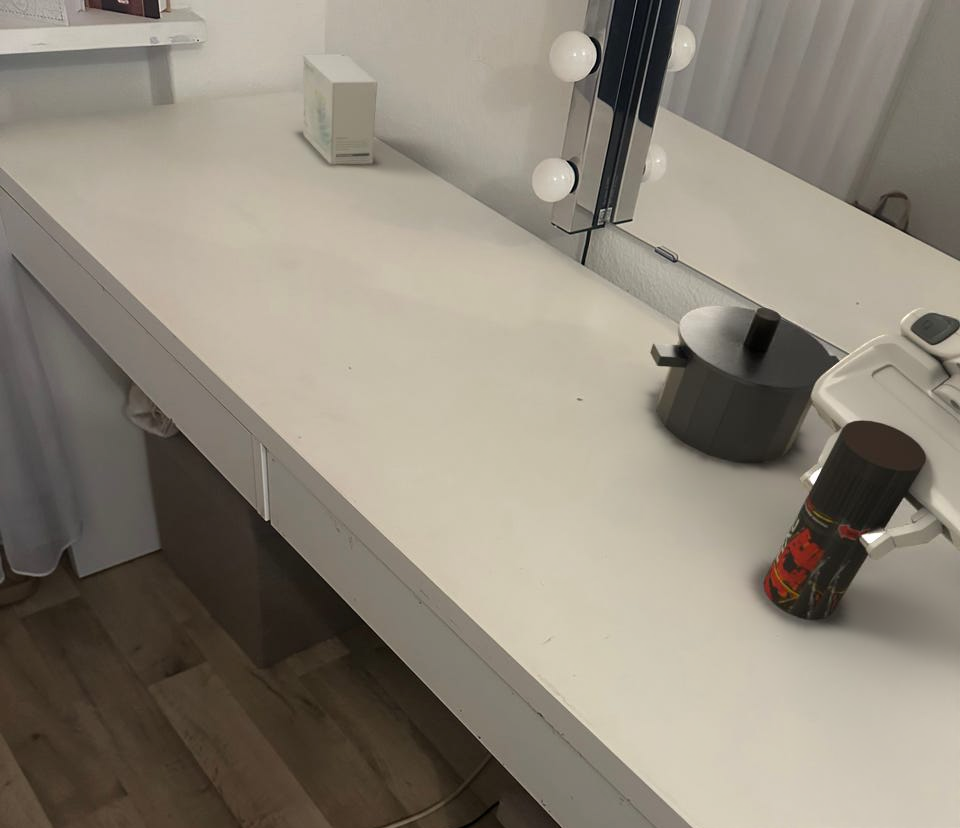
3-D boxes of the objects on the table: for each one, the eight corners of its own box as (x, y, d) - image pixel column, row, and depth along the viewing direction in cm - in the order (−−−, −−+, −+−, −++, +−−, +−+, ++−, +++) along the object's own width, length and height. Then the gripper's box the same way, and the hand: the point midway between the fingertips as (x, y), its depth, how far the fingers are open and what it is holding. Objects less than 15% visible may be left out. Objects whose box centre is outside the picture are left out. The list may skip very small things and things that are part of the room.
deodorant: (840, 628, 72) (938, 476, 61) (769, 620, 71) (854, 464, 60) (822, 578, 76) (910, 426, 65) (754, 569, 75) (832, 415, 65)
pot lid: (656, 310, 88) (669, 269, 85) (791, 321, 91) (808, 282, 88) (704, 394, 78) (721, 351, 75) (854, 402, 81) (875, 361, 78)
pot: (615, 384, 93) (638, 305, 87) (782, 393, 97) (815, 319, 91) (652, 464, 84) (681, 383, 78) (835, 471, 88) (876, 394, 82)
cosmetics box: (300, 138, 125) (301, 51, 118) (344, 138, 128) (348, 53, 120) (328, 169, 119) (332, 79, 112) (373, 168, 122) (379, 80, 115)
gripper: (1119, 507, 60) (934, 633, 64) (917, 346, 72) (771, 459, 76) (1118, 458, 55) (919, 597, 59) (902, 295, 67) (748, 418, 71)
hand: (834, 518), depth 67 cm, fingers closed on deodorant, 6 cm apart
